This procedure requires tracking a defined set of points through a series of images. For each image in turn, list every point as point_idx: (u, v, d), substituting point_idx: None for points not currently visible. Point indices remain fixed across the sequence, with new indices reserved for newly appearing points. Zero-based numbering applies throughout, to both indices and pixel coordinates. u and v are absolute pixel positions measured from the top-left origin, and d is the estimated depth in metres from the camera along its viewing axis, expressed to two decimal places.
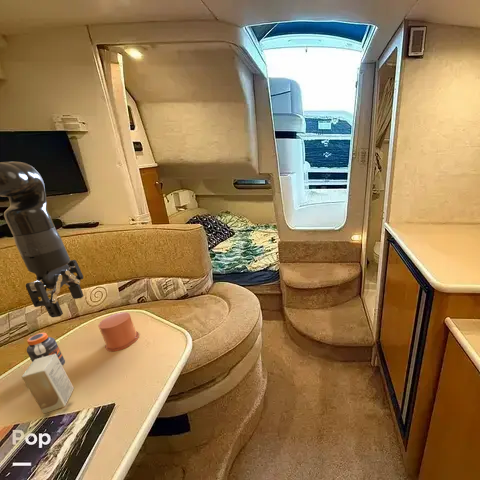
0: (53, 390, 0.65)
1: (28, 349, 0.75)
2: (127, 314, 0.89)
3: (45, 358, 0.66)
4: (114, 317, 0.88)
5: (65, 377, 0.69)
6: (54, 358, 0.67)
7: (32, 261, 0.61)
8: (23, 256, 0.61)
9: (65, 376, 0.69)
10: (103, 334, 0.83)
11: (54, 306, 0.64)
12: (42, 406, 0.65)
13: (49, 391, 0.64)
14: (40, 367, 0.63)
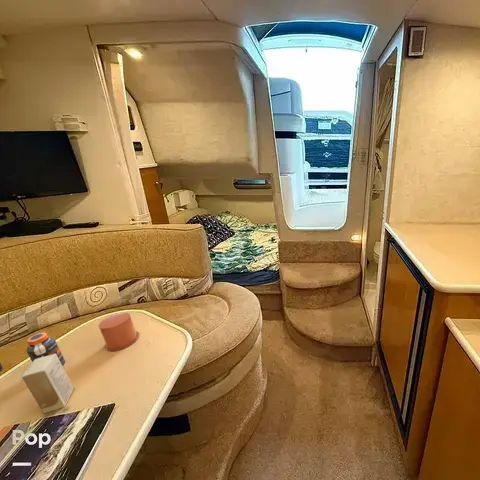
0: (53, 390, 0.65)
1: (28, 349, 0.75)
2: (127, 314, 0.89)
3: (45, 358, 0.66)
4: (114, 317, 0.88)
5: (65, 377, 0.69)
6: (54, 358, 0.67)
7: None
8: None
9: (65, 376, 0.69)
10: (103, 334, 0.83)
11: None
12: (42, 406, 0.65)
13: (49, 391, 0.64)
14: (40, 367, 0.63)
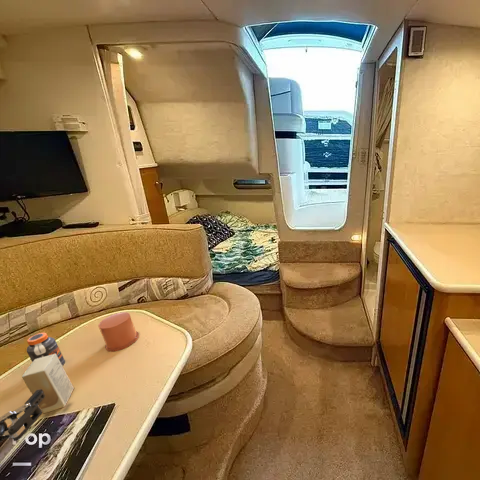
0: (52, 390, 0.65)
1: (28, 349, 0.75)
2: (127, 314, 0.89)
3: (45, 358, 0.66)
4: (114, 317, 0.88)
5: (65, 377, 0.69)
6: (54, 358, 0.67)
7: None
8: None
9: (65, 376, 0.70)
10: (103, 334, 0.83)
11: None
12: (42, 406, 0.65)
13: (49, 391, 0.64)
14: (40, 367, 0.64)
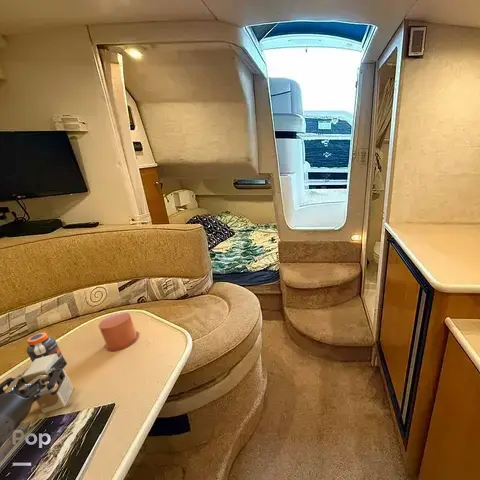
0: None
1: (28, 349, 0.75)
2: (127, 314, 0.89)
3: (45, 358, 0.66)
4: (114, 317, 0.88)
5: (65, 377, 0.69)
6: (54, 358, 0.67)
7: None
8: None
9: (65, 376, 0.70)
10: (103, 334, 0.83)
11: None
12: (42, 406, 0.65)
13: None
14: (41, 367, 0.64)
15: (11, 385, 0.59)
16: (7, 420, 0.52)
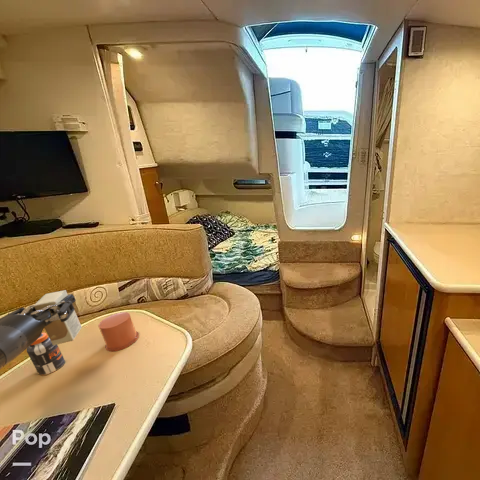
0: (62, 322, 0.67)
1: (28, 349, 0.75)
2: (127, 314, 0.89)
3: (55, 293, 0.69)
4: (114, 317, 0.88)
5: (74, 314, 0.72)
6: (64, 293, 0.70)
7: None
8: None
9: (74, 313, 0.72)
10: (103, 334, 0.83)
11: None
12: (52, 338, 0.68)
13: (59, 323, 0.67)
14: (51, 299, 0.66)
15: (23, 312, 0.62)
16: (21, 335, 0.55)
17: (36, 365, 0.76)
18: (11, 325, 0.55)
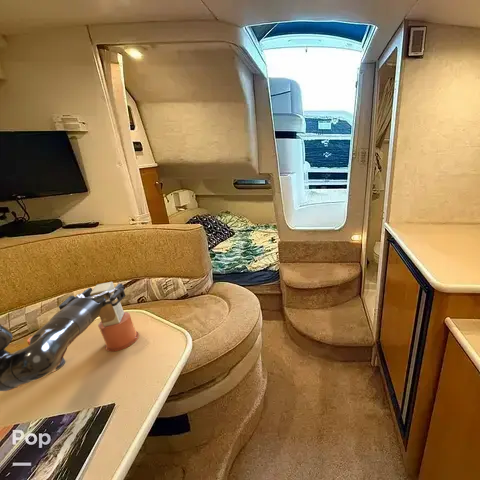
0: (111, 307, 0.82)
1: None
2: (127, 314, 0.89)
3: (105, 284, 0.84)
4: None
5: None
6: (111, 284, 0.84)
7: None
8: None
9: None
10: (103, 334, 0.83)
11: None
12: (103, 320, 0.82)
13: (109, 308, 0.82)
14: (103, 288, 0.81)
15: (80, 297, 0.76)
16: (87, 313, 0.70)
17: None
18: (80, 305, 0.69)
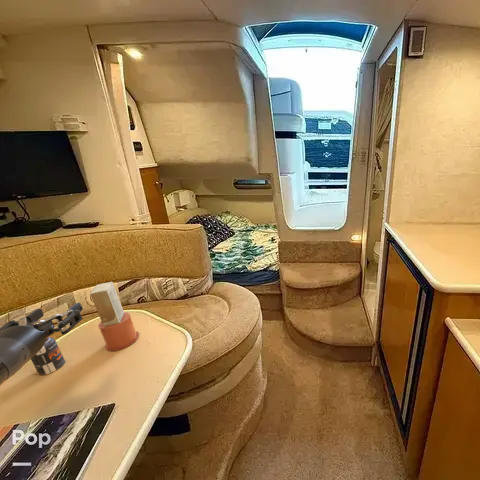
0: (111, 307, 0.82)
1: None
2: (127, 314, 0.89)
3: (105, 284, 0.84)
4: None
5: (118, 302, 0.87)
6: (111, 284, 0.84)
7: None
8: None
9: (118, 301, 0.87)
10: (103, 334, 0.83)
11: None
12: (103, 320, 0.82)
13: (109, 308, 0.82)
14: (103, 288, 0.81)
15: (21, 323, 0.60)
16: (23, 347, 0.53)
17: (36, 365, 0.76)
18: (13, 337, 0.53)
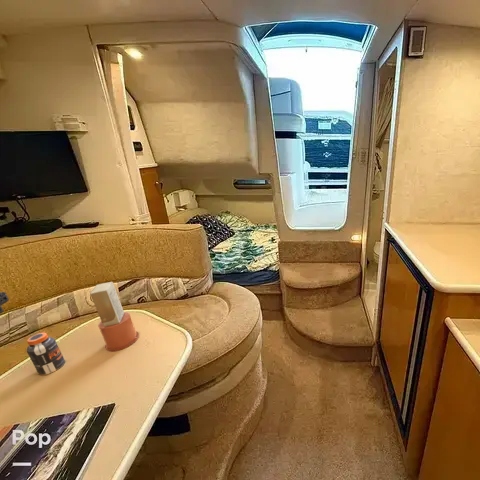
0: (111, 307, 0.82)
1: (28, 349, 0.75)
2: (127, 314, 0.89)
3: (105, 284, 0.84)
4: None
5: (118, 302, 0.87)
6: (111, 284, 0.84)
7: None
8: None
9: (118, 301, 0.87)
10: (103, 334, 0.83)
11: None
12: (103, 320, 0.82)
13: (109, 308, 0.82)
14: (103, 288, 0.81)
15: None
16: None
17: (36, 365, 0.76)
18: None
